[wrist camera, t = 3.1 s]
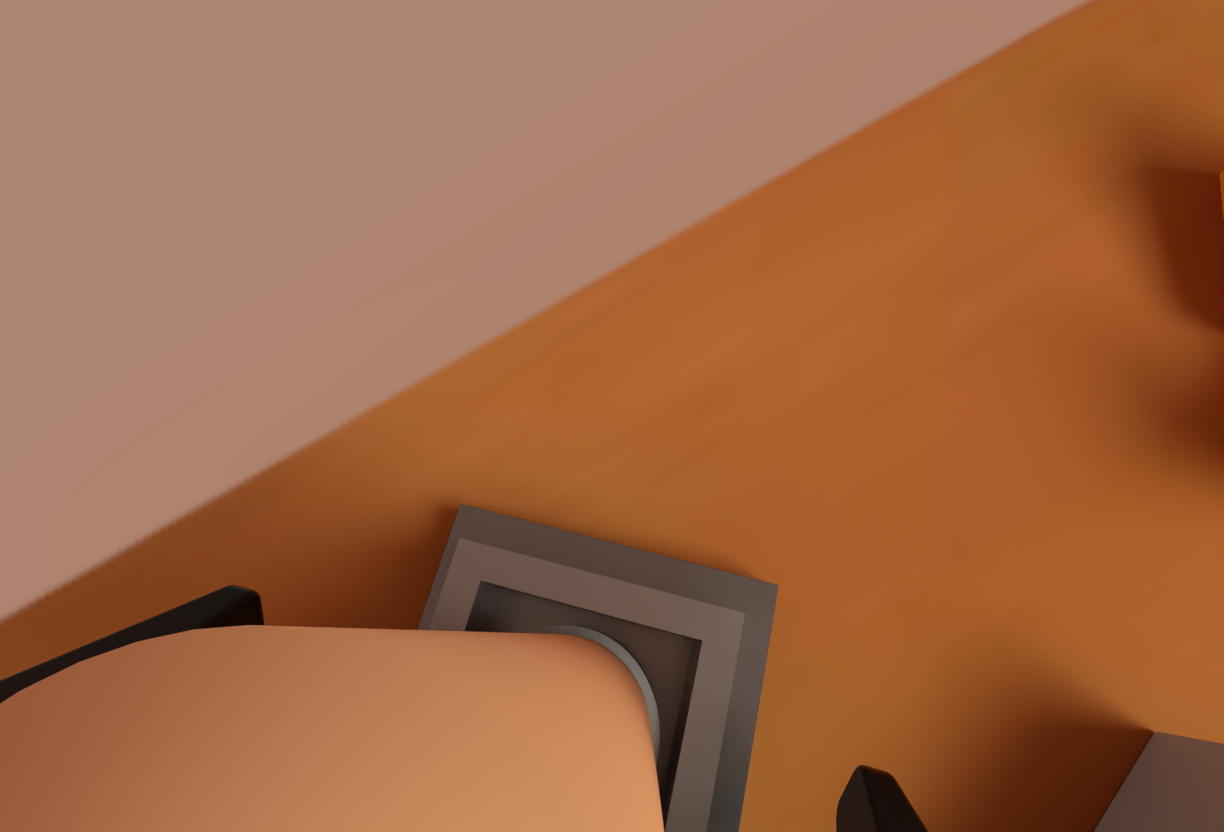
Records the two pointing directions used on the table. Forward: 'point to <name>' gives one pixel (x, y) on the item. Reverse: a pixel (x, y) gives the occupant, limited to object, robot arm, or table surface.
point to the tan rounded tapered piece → (337, 735)
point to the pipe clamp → (1222, 189)
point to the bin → (1171, 789)
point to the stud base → (630, 639)
